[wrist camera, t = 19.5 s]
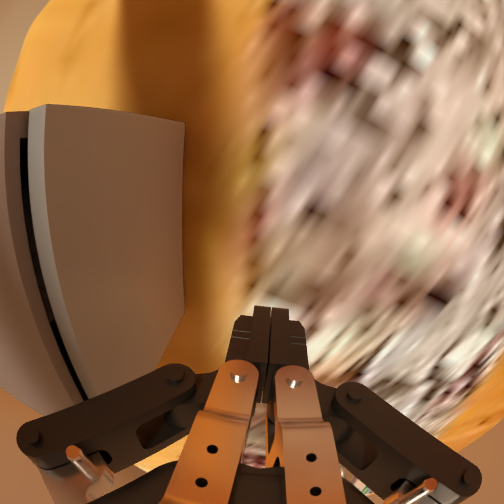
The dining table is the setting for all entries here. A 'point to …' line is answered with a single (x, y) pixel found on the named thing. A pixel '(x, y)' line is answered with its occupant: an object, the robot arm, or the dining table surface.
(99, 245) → the drawer tray
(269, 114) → the dining table surface
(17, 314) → the cabinet
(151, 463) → the dining table surface
